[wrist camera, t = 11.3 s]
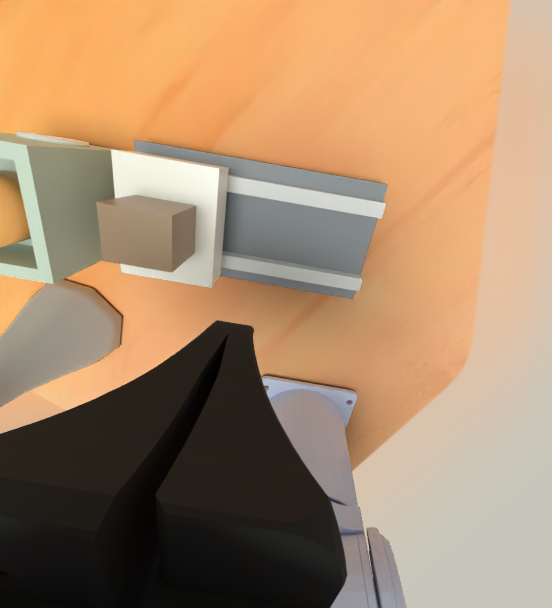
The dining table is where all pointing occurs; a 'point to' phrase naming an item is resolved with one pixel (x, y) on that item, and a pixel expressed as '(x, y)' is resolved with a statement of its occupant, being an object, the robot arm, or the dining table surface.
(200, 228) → the carriage
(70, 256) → the cabinet
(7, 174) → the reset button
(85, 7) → the dining table surface
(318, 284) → the rail track
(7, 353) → the flask
